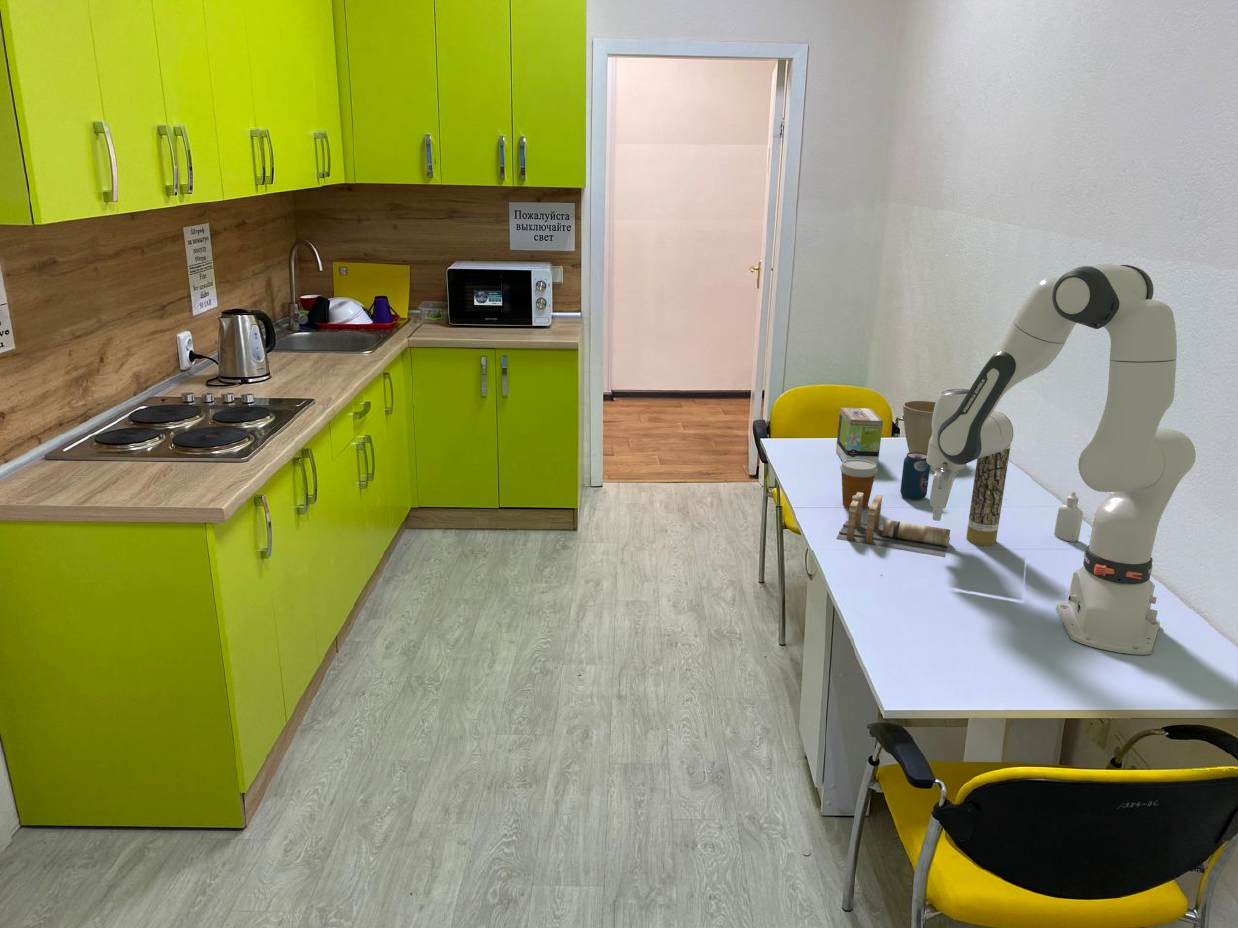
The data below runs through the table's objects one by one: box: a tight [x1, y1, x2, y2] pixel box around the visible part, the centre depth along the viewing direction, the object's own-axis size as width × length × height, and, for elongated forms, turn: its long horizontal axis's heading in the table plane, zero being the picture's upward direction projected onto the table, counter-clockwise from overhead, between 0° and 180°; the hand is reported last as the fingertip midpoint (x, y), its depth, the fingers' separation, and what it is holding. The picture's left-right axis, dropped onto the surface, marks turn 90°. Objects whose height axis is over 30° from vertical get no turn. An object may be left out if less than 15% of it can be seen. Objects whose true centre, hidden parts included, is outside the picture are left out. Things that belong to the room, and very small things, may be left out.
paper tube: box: [965, 444, 1011, 547], centre depth 227 cm, size 7×7×25 cm
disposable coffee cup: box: [839, 459, 878, 510], centre depth 250 cm, size 10×10×12 cm
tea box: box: [835, 407, 884, 468], centre depth 289 cm, size 15×10×15 cm, turn 179°
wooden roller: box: [882, 519, 951, 546], centre depth 229 cm, size 15×4×4 cm, turn 67°
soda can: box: [899, 452, 931, 501], centre depth 258 cm, size 7×7×12 cm
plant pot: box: [902, 400, 936, 454], centre depth 293 cm, size 15×15×16 cm
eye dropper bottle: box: [1053, 491, 1084, 543], centre depth 232 cm, size 4×6×12 cm
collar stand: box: [835, 492, 951, 558], centre depth 229 cm, size 13×25×10 cm, turn 67°
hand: (938, 512), depth 225 cm, fingers open, 8 cm apart
